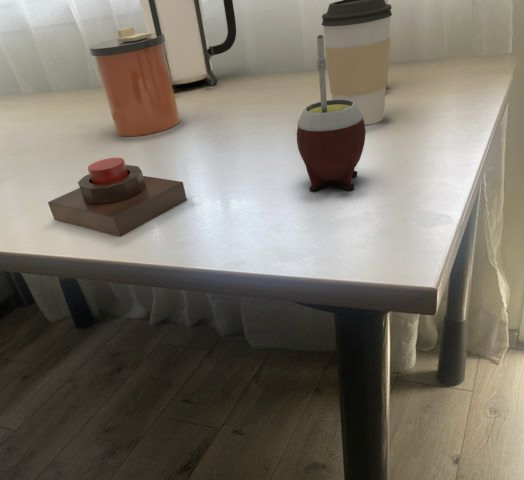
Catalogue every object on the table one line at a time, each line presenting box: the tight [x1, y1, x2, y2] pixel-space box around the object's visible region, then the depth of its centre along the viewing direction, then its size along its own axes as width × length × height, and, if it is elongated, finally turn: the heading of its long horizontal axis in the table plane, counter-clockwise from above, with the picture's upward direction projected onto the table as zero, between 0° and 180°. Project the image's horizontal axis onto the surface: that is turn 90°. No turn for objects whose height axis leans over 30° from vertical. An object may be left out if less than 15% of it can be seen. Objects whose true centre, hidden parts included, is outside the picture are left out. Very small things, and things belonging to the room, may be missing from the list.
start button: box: [87, 157, 128, 184], centre depth 58 cm, size 4×4×2 cm
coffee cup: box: [321, 0, 393, 127], centre depth 72 cm, size 9×9×15 cm
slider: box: [116, 26, 152, 42], centre depth 82 cm, size 4×4×2 cm
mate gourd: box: [296, 34, 367, 193], centre depth 53 cm, size 8×8×15 cm
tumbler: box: [88, 33, 181, 137], centre depth 88 cm, size 12×12×13 cm
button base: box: [47, 164, 188, 238], centre depth 60 cm, size 12×10×4 cm
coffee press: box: [139, 0, 237, 93], centre depth 108 cm, size 17×16×30 cm
